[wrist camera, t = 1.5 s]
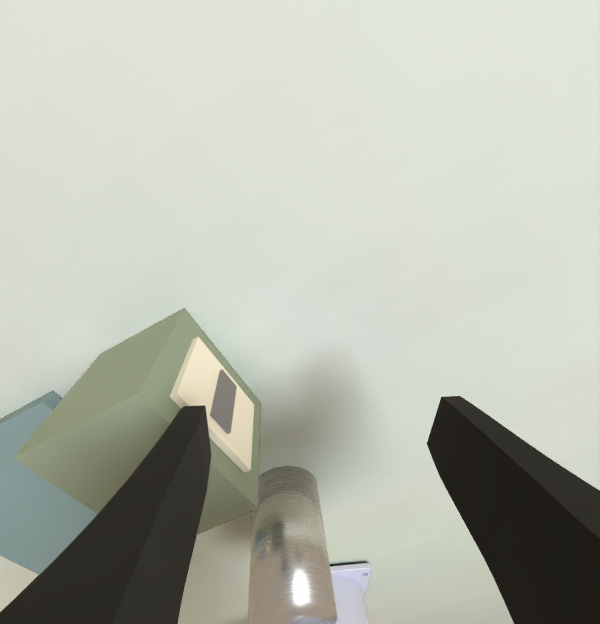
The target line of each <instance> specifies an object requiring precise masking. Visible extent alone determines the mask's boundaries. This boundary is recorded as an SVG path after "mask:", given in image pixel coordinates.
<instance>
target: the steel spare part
mask: <svg viewBox="0 0 600 624" xmlns="http://www.w3.org/2000/svg"><path fill="white" fill-rule="evenodd" d="M336 621H337V610H336V604H335V597H334V591H333V584H332V578H331V571H330V565H329V558H328V552H327V545H326V539H325V532H324V526H323V519H322V513H321V506H320V500H319V493H318V487H317V481H316V479H315V477H314V476H313V475H312V474H311V473H310V472H309V471H307V470H305V469H302V468H298V467H279V468H275V469H272V470H270V471H268V472H266V473H264V474H263V475H261V476H260V477H259V484H258V508H257V509H255V510H253V511H252V535H251V559H250V584H249V608H248V624H335V623H336Z"/></svg>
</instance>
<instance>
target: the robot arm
mask: <svg viewBox="0 0 600 624" xmlns="http://www.w3.org/2000/svg"><path fill="white" fill-rule="evenodd" d="M427 445H428V448H429V450H430V453H431V455H432V458H433V461H434V463H435V466H436V468H437V470H438V473H439V475H440V477H441V479H442V481H443V483H444V485H445V487H446V489H447V491H448V493H449V495H450V496H451V498H452V500H453V502H454V504H455V506H456V508H457V509H458V511H459V513H460V515H461V517H462V519H463V520H464V522H465V524H466V526H467V528H468V530H469V531H470V533H471V535H472V537H473V539H474V541H475V542H476V544H477V546H478V548H479V550H480V552H481V553H482V555H483V557H484V559H485V561H486V563H487V565H488V567H489V569H490V571H491V573H492V575H493V577H494V579H495V581H496V584H497V586H498V588H499V590H500V593H501V595H502V597H503V599H504V602H505V604H506V606H507V608H508V611H509V613H510V615H511V617H512V620H513V622H514V624H600V491H599V490H598V489H596V488H595V487H593V486H591V485H590V484H588V483H587V482H585V481H583V480H582V479H580V478H579V477H577V476H576V475H574V474H573V473H571V472H569V471H568V470H566V469H565V468H563V467H562V466H560V465H559V464H557V463H556V462H554V461H553V460H551V459H550V458H548V457H547V456H545V455H544V454H542V453H541V452H539V451H538V450H536V449H535V448H534V447H532V446H531V445H529V444H528V443H526V442H525V441H524V440H522V439H521V438H519V437H518V436H516V435H515V434H514V433H512V432H511V431H509V430H508V429H507V428H505V427H504V426H502V425H501V424H500V423H498V422H497V421H495V420H494V419H493V418H491V417H490V416H488V415H487V414H485V413H484V412H483V411H481V410H480V409H478V408H477V407H476V406H474V405H473V404H471V403H470V402H468V401H467V400H465V399H464V398H462V397H460V396H452V397H441V400H440V403H439V407H438V410H437V413H436V416H435V419H434V423H433V426H432V429H431V432H430V435H429V439H428V442H427ZM210 463H211V447H210V439H209V431H208V423H207V414H206V406H205V405H203V406H183V407H182V408H181V409H180V410H179V412H178V413H177V415H176V416H175V418H174V419H173V420H172V422H171V423H170V425H169V426H168V427H167V429H166V430H165V432H164V433H163V434H162V436H161V437H160V438H159V440H158V441H157V442H156V444H155V445H154V446H153V448H152V449H151V450H150V452H149V453H148V454H147V455H146V457H145V458H144V459H143V460H142V462H141V463H140V464H139V466H138V467H137V468H136V469H135V471H134V472H133V473H132V474H131V476H130V477H129V478H128V479H127V480H126V482H125V483H124V484H123V485H122V486H121V487H120V489H119V490H118V491H117V492H116V493H115V494H114V496H113V497H112V498H111V499H110V500H109V501H108V503H107V504H106V505H105V506H104V507H103V508H102V510H101V511H100V512H99V513H98V514H97V515H96V516H95V517H94V518H93V520H92V521H91V522H90V523H89V524H88V525H87V526H86V527H85V528H84V529H83V530H82V532H81V533H80V534H79V535H78V536H77V537H76V538H75V539H74V540H73V541H72V542H71V543H70V544H69V545H68V546H67V547H66V548H65V549H64V550H63V551H62V552H61V553H60V555H59V556H58V557H57V558H56V559H55V560H54V561H53V562H52V563H51V564H50V565H49V566H48V567H47V568H46V569H45V570H44V571H43V572H42V573H40V574H39V575H38V576H37V577H36V578H35V579H34V580H33V581H32V582H31V583H30V584H29V585H28V586H27V587H26V588H25V589H24V590H23V591H22V592H21V593H20V594H19V595H18V596H17V597H16V598H15V599H14V600H13V601H12V602H11V603H10V604H9V605H8V606H7V607H5V608H4V609H3V610H2V611H1V612H0V624H177V623H178V617H179V611H180V606H181V601H182V596H183V591H184V586H185V582H186V577H187V573H188V569H189V565H190V561H191V556H192V552H193V548H194V544H195V539H196V535H197V531H198V527H199V523H200V518H201V514H202V510H203V505H204V501H205V497H206V492H207V486H208V478H209V471H210ZM330 571H331V578H332V584H333V591H334V597H335V604H336V610H337V621H336V623H335V624H370V622H369V617H368V613H367V608H366V604H365V599H364V596H365V592H366V589H367V585H368V581H369V578H370V574H371V566H370V564H368V563H361V564H350V565H340V566H330Z"/></svg>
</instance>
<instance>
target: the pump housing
mask: <svg viewBox="0 0 600 624" xmlns="http://www.w3.org/2000/svg"><path fill="white" fill-rule="evenodd" d="M203 405H205V406H206V414H207V423H208V431H209V439H210V447H211V463H210V471H209V478H208V486H207V492H206V497H205V501H204V505H203V510H202V514H201V518H200V523H199V527H198V531H197V534H199V533H202V532H204V531H206V530H208V529H211V528H213V527H215V526H218V525H220V524H222V523H225V522H227V521H229V520H232V519H234V518H236V517H239V516H241V515H243V514H246V513H248V512H250V511H253V510H255V509H257V508H258V484H259V445H260V406H261V403H260V402H259V400H258V399H257V398H256V397H255V396H254V394H253V393H252V392H251V391H250V389H249V388H248V387H247V386H246V384H245V383H244V382H243V381H242V379H241V378H240V377H239V376H238V374H237V373H236V372H235V371H234V369H233V368H232V367H231V366H230V364H229V363H228V362H227V361H226V359H225V358H224V357H223V356H222V354H221V353H220V352H219V351H218V349H217V348H216V347H215V346H214V344H213V343H212V342H211V341H210V339H209V338H208V337H207V336H206V334H205V333H204V332H203V331H202V329H201V328H200V327H199V326H198V324H197V323H196V322H195V321H194V319H193V318H192V317H191V316H190V314H189V313H188V312H187V311H186V309H185V308H184V309H182V310H180V311H178V312H177V313H175V314H173V315H171V316H169V317H167V318H166V319H164V320H162V321H160V322H158V323H156V324H155V325H153V326H151V327H149V328H147V329H146V330H144V331H142V332H140V333H138V334H136V335H135V336H133V337H131V338H129V339H127V340H125V341H124V342H122V343H120V344H118V345H116V346H114V347H113V348H111V349H109V350H107V351H105V352H103V353H102V354H100V356H99V357H98V358H97V359H96V360H95V361H94V363H93V364H92V365H91V366H90V367H89V368H88V370H87V371H86V372H85V373H84V374H83V376H82V377H81V378H80V379H79V380H78V381H77V383H76V384H75V385H74V386H73V387H72V389H71V390H70V391H69V392H68V393H67V394H66V396H65V397H64V398H63V399H62V400H61V402H60V403H59V404H58V405H57V406H56V407H55V409H54V410H53V411H52V412H51V413H50V414H49V416H48V417H47V418H46V419H45V420H44V422H43V423H42V424H41V425H40V426H39V427H38V429H37V430H36V431H35V432H34V433H33V435H32V436H31V437H30V438H29V439H28V440H27V442H26V443H25V444H24V445H23V446H22V448H21V449H20V450H19V451H18V452H17V453H16V455H15V456H14V457H13V458H14V459H15V460H17V461H18V462H20V463H21V464H23V465H24V466H26V467H27V468H29V469H30V470H32V471H34V472H35V473H37V474H38V475H40V476H41V477H43V478H44V479H46V480H47V481H49V482H50V483H52V484H53V485H55V486H56V487H58V488H59V489H61V490H62V491H64V492H65V493H67V494H68V495H70V496H71V497H73V498H74V499H76V500H77V501H79V502H81V503H82V504H84V505H85V506H87V507H88V508H90V509H91V510H93V511H94V512H96V513H97V514H98V513H99V512H100V511H101V510H102V508H103V507H104V506H105V505H106V504H107V503H108V501H109V500H110V499H111V498H112V497H113V496H114V494H115V493H116V492H117V491H118V490H119V489H120V487H121V486H122V485H123V484H124V483H125V482H126V480H127V479H128V478H129V477H130V476H131V474H132V473H133V472H134V471H135V469H136V468H137V467H138V466H139V464H140V463H141V462H142V460H143V459H144V458H145V457H146V455H147V454H148V453H149V452H150V450H151V449H152V448H153V446H154V445H155V444H156V442H157V441H158V440H159V438H160V437H161V436H162V434H163V433H164V432H165V430H166V429H167V427H168V426H169V425H170V423H171V422H172V420H173V419H174V418H175V416H176V415H177V413H178V412H179V410H180V409H181V408H182V407H183V406H203Z"/></svg>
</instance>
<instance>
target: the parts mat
mask: <svg viewBox="0 0 600 624" xmlns="http://www.w3.org/2000/svg"><path fill="white" fill-rule="evenodd" d="M61 400H62V399H61V398H60V397H59V396H58V395H57V394H55V393H54V392H53V391H51V392H50V393H48V394H46V395H44V396H42V397H40V398H39V399H37V400H35V401H33V402H31V403H29V404H27V405H26V406H24V407H22V408H20V409H18V410H16V411H14V412H13V413H11V414H9V415H7V416H5V417H3V418H2V419H0V556H2V557H4V558H6V559H8V560H10V561H12V562H14V563H17V564H19V565H21V566H23V567H25V568H27V569H29V570H31V571H33V572H35V573H37V574H40V573H42V572H43V571H44V570H45V569H46V568H47V567H48V566H49V565H50V564H51V563H52V562H53V561H54V560H55V559H56V558H57V557H58V556H59V555H60V553H61V552H62V551H63V550H64V549H65V548H66V547H67V546H68V545H69V544H70V543H71V542H72V541H73V540H74V539H75V538H76V537H77V536H78V535H79V534H80V533H81V532H82V530H83V529H84V528H85V527H86V526H87V525H88V524H89V523H90V522H91V521H92V520H93V518H94V517H95V516H96V515H97V513H96V512H94V511H93V510H91V509H90V508H88V507H87V506H85V505H84V504H82V503H81V502H79V501H77V500H76V499H74V498H73V497H71V496H70V495H68V494H67V493H65V492H64V491H62V490H61V489H59V488H58V487H56V486H55V485H53V484H52V483H50V482H49V481H47V480H46V479H44V478H43V477H41V476H40V475H38V474H37V473H35V472H34V471H32V470H30V469H29V468H27V467H26V466H24V465H23V464H21V463H20V462H18V461H17V460H15V459H14V458H13V457H14V456H15V455H16V453H17V452H18V451H19V450H20V449H21V448H22V446H23V445H24V444H25V443H26V442H27V440H28V439H29V438H30V437H31V436H32V435H33V433H34V432H35V431H36V430H37V429H38V427H39V426H40V425H41V424H42V423H43V422H44V420H45V419H46V418H47V417H48V416H49V414H50V413H51V412H52V411H53V410H54V409H55V407H56V406H57V405H58V404H59V403H60V402H61Z"/></svg>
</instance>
